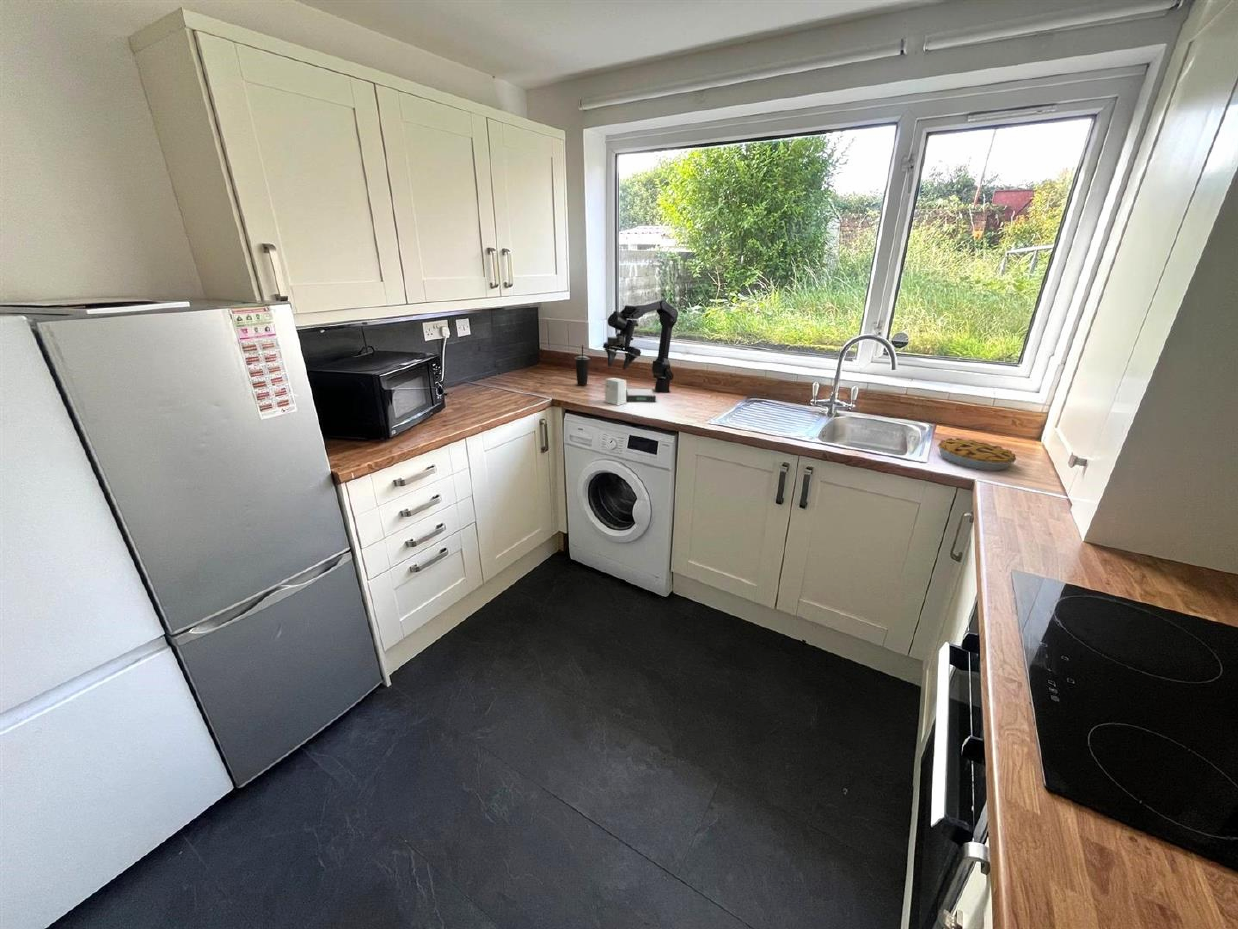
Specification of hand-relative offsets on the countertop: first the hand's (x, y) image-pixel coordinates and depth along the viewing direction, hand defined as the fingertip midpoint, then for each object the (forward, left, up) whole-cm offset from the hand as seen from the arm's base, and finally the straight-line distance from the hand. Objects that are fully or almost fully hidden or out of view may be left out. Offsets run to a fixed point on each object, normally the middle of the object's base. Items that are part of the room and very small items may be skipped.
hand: (616, 368), depth 221 cm
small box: (0, +3, -15) cm, 16 cm away
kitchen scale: (-12, -6, -15) cm, 20 cm away
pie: (-116, +73, -15) cm, 138 cm away
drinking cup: (+15, -32, -15) cm, 38 cm away
